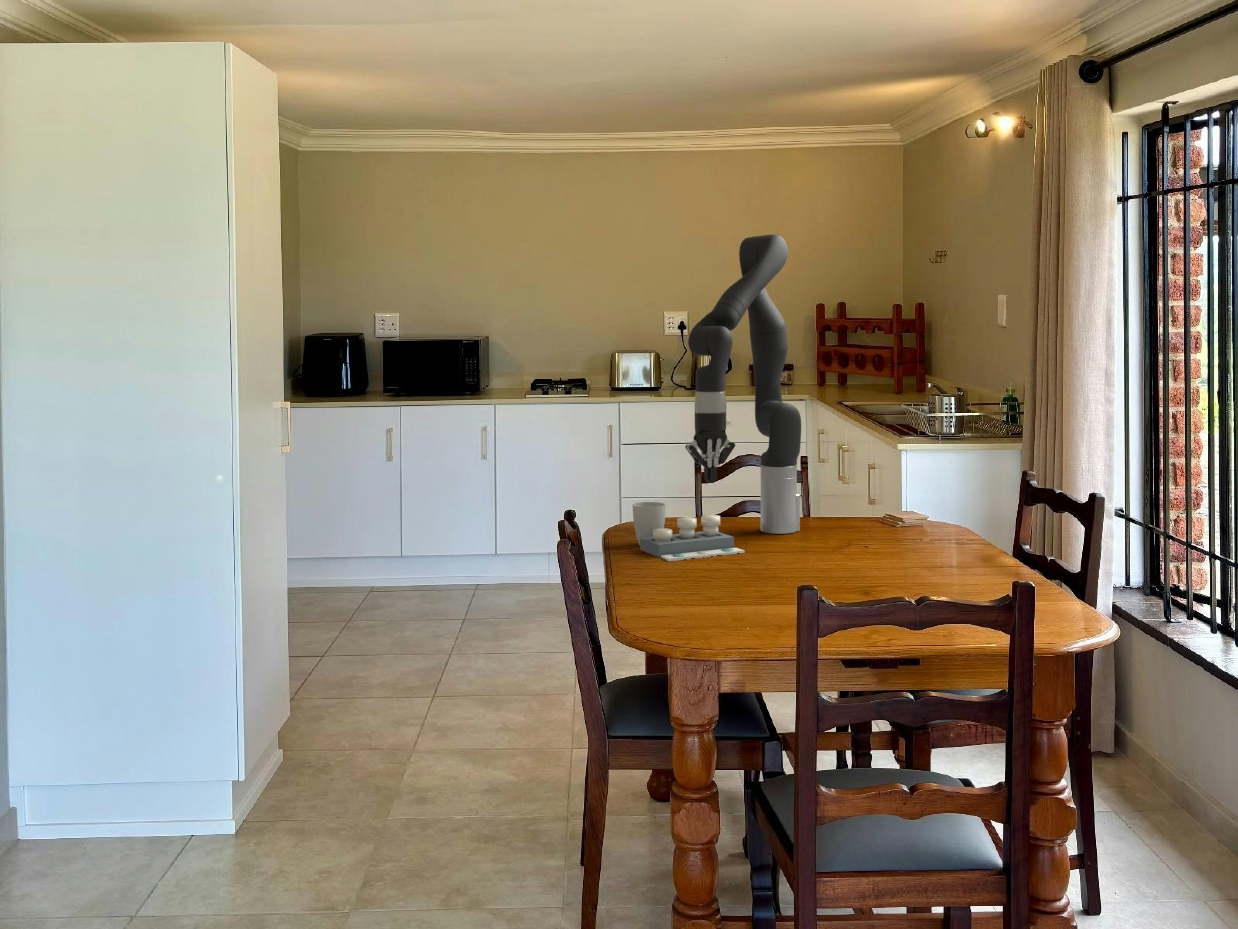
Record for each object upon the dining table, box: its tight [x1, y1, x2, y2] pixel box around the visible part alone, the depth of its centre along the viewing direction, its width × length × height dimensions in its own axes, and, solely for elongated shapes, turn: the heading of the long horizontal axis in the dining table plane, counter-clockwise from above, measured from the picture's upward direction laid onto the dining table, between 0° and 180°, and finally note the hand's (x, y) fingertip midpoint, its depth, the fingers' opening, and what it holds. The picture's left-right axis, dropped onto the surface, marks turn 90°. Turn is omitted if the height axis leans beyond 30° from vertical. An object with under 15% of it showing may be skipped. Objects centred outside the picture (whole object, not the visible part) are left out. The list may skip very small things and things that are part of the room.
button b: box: [676, 516, 698, 539], centre depth 281 cm, size 5×5×5 cm
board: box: [639, 530, 735, 558], centre depth 281 cm, size 20×10×3 cm, turn 115°
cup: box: [632, 501, 667, 546], centre depth 288 cm, size 8×8×10 cm
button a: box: [700, 514, 721, 537], centre depth 284 cm, size 5×5×5 cm
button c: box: [653, 527, 673, 542], centre depth 279 cm, size 5×5×5 cm
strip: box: [660, 547, 746, 562], centre depth 274 cm, size 20×4×1 cm, turn 115°
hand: (710, 482), depth 282 cm, fingers closed
